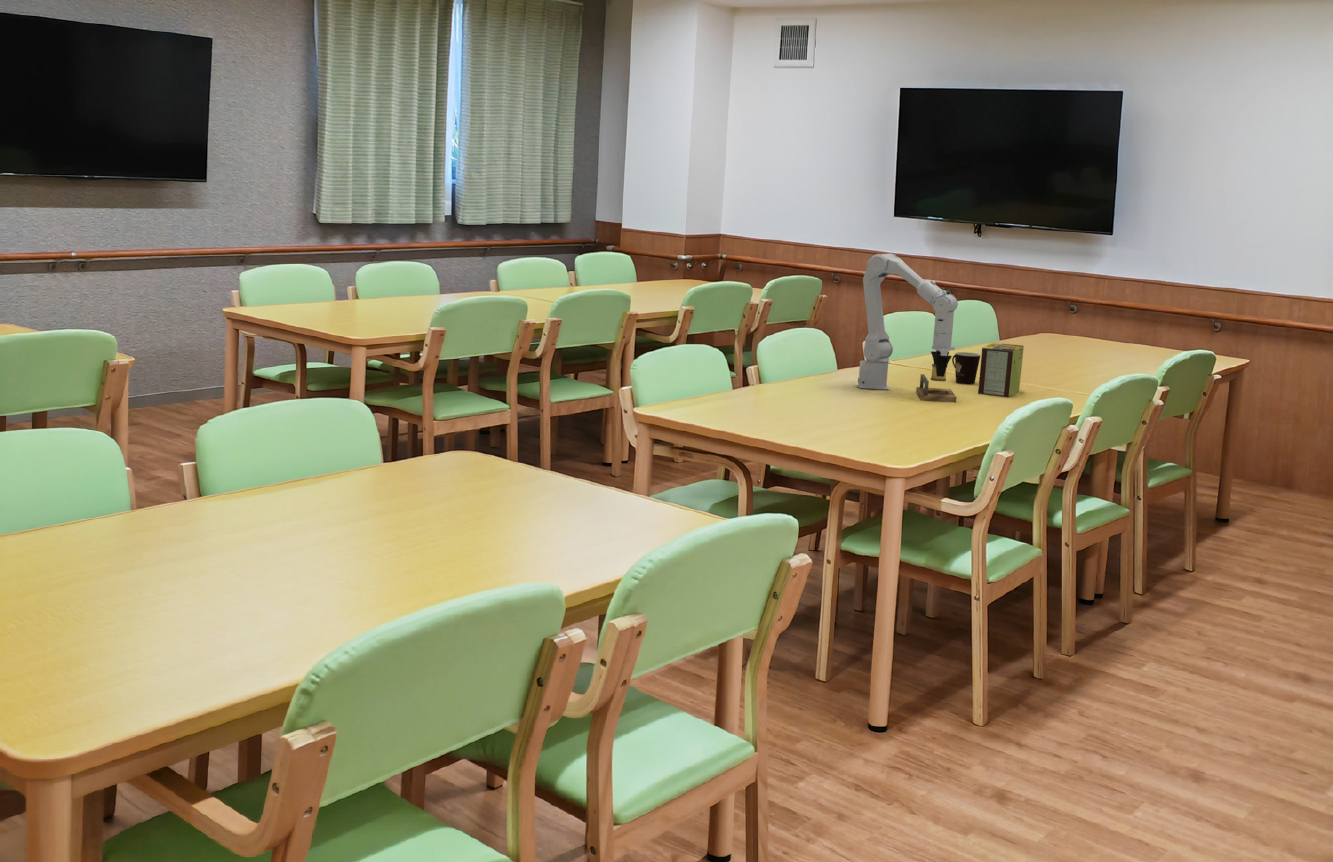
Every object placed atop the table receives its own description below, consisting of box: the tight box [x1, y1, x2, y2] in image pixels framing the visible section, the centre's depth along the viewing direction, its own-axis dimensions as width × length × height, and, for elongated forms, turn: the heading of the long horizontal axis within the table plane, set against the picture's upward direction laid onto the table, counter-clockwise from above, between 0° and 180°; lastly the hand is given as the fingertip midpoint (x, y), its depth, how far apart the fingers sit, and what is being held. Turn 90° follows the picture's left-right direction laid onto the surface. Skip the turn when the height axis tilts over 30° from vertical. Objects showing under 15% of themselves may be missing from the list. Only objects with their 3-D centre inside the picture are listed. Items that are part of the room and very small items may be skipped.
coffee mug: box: [951, 351, 982, 385], centre depth 418 cm, size 12×9×10 cm
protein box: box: [977, 342, 1025, 398], centre depth 400 cm, size 10×15×16 cm
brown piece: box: [915, 373, 958, 403], centre depth 387 cm, size 11×15×6 cm
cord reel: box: [930, 363, 947, 382], centre depth 386 cm, size 5×5×5 cm
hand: (939, 375), depth 386 cm, fingers closed on cord reel, 5 cm apart
